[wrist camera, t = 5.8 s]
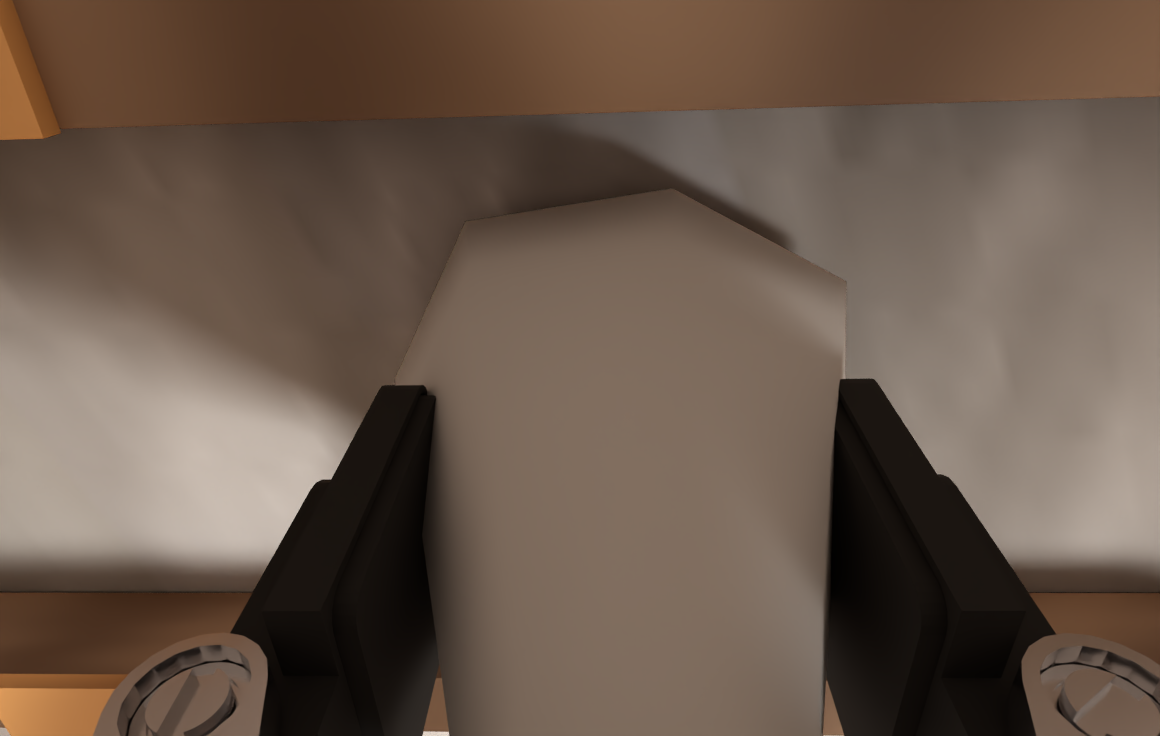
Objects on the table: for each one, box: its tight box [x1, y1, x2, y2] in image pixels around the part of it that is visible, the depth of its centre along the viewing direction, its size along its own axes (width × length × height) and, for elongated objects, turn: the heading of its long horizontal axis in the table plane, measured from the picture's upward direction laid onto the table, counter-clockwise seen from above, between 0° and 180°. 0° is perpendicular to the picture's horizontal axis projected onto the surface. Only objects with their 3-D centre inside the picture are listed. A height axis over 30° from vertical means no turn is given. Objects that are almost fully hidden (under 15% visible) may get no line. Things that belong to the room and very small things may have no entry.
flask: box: [394, 188, 846, 736], centre depth 7 cm, size 7×7×10 cm
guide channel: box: [0, 0, 1160, 736], centre depth 11 cm, size 29×13×4 cm, turn 92°
